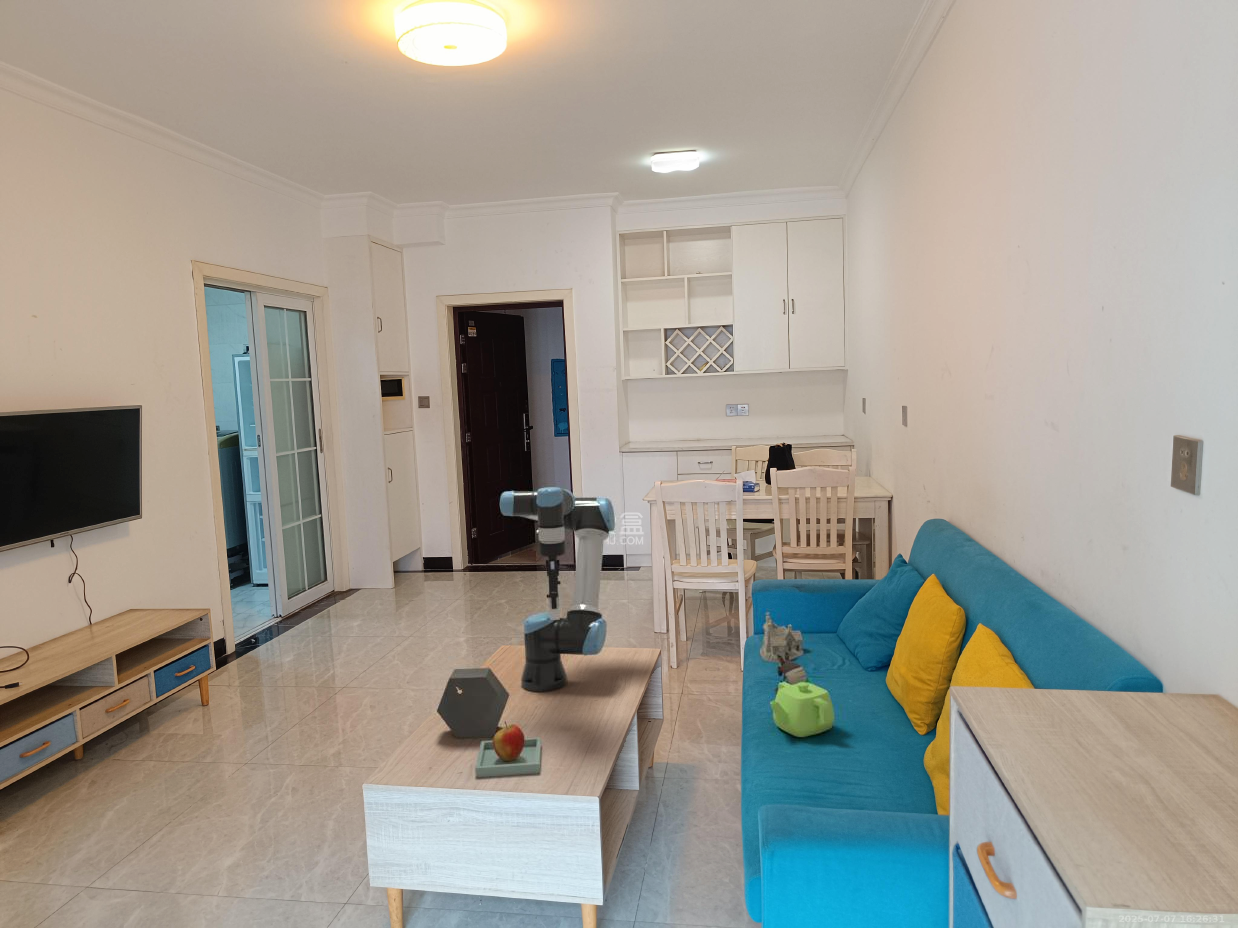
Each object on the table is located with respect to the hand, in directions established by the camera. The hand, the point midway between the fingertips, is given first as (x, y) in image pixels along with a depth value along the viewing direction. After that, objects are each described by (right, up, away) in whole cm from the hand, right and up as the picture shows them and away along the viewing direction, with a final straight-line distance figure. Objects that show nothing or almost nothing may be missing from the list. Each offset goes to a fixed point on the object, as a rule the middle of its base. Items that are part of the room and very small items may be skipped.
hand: (554, 613), depth 235 cm
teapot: (+68, -31, -11) cm, 76 cm away
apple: (-10, -34, -24) cm, 43 cm away
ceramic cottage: (+77, -25, +53) cm, 97 cm away
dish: (-10, -34, -24) cm, 43 cm away
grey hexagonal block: (-22, -33, -5) cm, 40 cm away
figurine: (+73, -28, +17) cm, 80 cm away
